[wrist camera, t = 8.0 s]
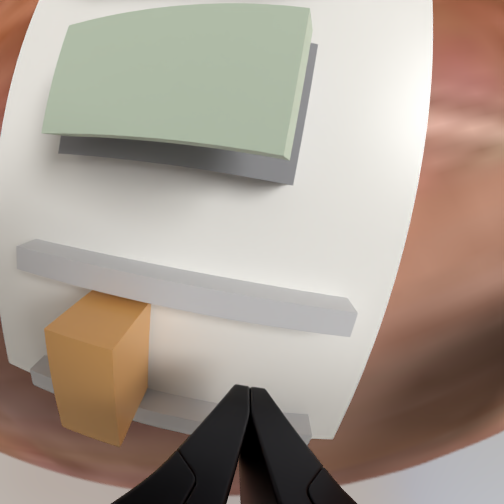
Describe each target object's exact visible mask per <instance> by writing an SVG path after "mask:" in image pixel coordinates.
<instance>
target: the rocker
mask: <svg viewBox="0 0 504 504" xmlns="http://www.w3.org/2000/svg"><path fill="white" fill-rule="evenodd" d="M312 32H313V29H312V20H311V12H310V8H305V7H296V6H285V5H271V4H248V3H217V4H194V5H180V6H169V7H160V8H152V9H145V10H138V11H132V12H126V13H120V14H115V15H110V16H105V17H101V18H96V19H92V20H88V21H84V22H80V23H76V24H72V25H69V27H68V30H67V33H66V36H65V39H64V42H63V45H62V48H61V51H60V54H59V58H58V61H57V65H56V68H55V72H54V76H53V80H52V84H51V88H50V92H49V96H48V101H47V105H46V110H45V115H44V121H43V126H42V132H41V133H43V134H52V135H61V136H77V137H100V138H117V139H131V140H144V141H155V142H165V143H175V144H184V145H192V146H200V147H208V148H215V149H222V150H229V151H236V152H242V153H249V154H255V155H261V156H267V157H272V158H278V159H283V160H289V161H290V156H291V151H292V146H293V140H294V135H295V129H296V124H297V118H298V113H299V107H300V102H301V96H302V90H303V85H304V79H305V73H306V67H307V62H308V56H309V50H310V44H311V38H312Z"/></svg>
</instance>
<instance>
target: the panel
mask: <svg viewBox="0 0 504 504" xmlns="http://www.w3.org/2000/svg"><path fill="white" fill-rule="evenodd" d="M217 3H248V4H271V5H285V6H296V7H305V8H310V12H311V20H312V29H313V32H312V38H311V44H310V50H309V56H308V62H307V67H306V73H305V79H304V85H303V90H302V96H301V102H300V107H299V113H298V118H297V124H296V129H295V135H294V140H293V146H292V151H291V156H290V161H289V160H283V159H278V158H272V157H267V156H261V155H255V154H249V153H242V152H236V151H229V150H222V149H215V148H208V147H200V146H192V145H184V144H175V143H165V142H155V141H144V140H131V139H117V138H100V137H77V136H61V135H52V134H43V133H41V132H42V126H43V121H44V115H45V110H46V105H47V101H48V96H49V92H50V88H51V84H52V80H53V76H54V72H55V68H56V65H57V61H58V58H59V54H60V51H61V48H62V45H63V42H64V39H65V36H66V33H67V30H68V27H69V25H72V24H76V23H80V22H84V21H88V20H92V19H96V18H101V17H105V16H110V15H115V14H120V13H126V12H132V11H138V10H145V9H152V8H160V7H169V6H180V5H194V4H217ZM432 55H433V6H432V0H39V2H38V4H37V7H36V9H35V12H34V14H33V17H32V19H31V22H30V25H29V27H28V30H27V33H26V36H25V38H24V41H23V44H22V48H21V51H20V54H19V57H18V60H17V64H16V67H15V71H14V75H13V78H12V82H11V86H10V90H9V95H8V99H7V104H6V109H5V114H4V119H3V125H2V131H1V137H0V317H1V323H2V329H3V335H4V340H5V345H6V350H7V355H8V360H9V363H10V364H12V365H15V366H17V367H19V368H21V369H23V370H25V371H28V372H30V373H31V377H32V382H33V385H35V386H37V387H40V388H42V389H44V390H47V391H49V392H51V393H54V389H53V384H52V379H51V374H50V368H49V362H48V355H47V349H46V341H45V333H44V328H45V327H47V326H48V325H49V324H50V323H52V322H53V321H54V320H55V319H56V318H58V317H59V316H60V315H61V314H63V313H64V312H65V311H66V310H68V309H69V308H70V307H71V306H73V305H74V304H75V303H76V302H78V301H79V300H80V299H81V298H83V297H84V296H85V295H87V294H88V293H89V292H90V291H92V290H95V291H98V292H102V293H107V294H111V295H115V296H119V297H123V298H127V299H132V300H136V301H140V302H145V303H149V304H151V313H150V331H149V355H148V388H147V390H146V392H145V394H144V397H143V399H142V401H141V403H140V405H139V407H138V409H137V412H136V414H135V416H134V418H133V420H132V421H136V422H139V423H143V424H147V425H151V426H155V427H159V428H163V429H167V430H171V431H176V432H180V433H185V434H190V435H191V434H192V433H193V432H194V430H195V429H196V428H197V427H198V426H199V425H200V424H201V423H202V421H203V420H204V419H205V418H206V417H207V416H208V415H209V413H210V412H211V411H212V410H213V409H214V408H215V407H216V405H217V404H218V403H219V402H220V401H221V400H222V398H223V397H224V396H225V395H226V394H227V393H228V391H229V390H230V389H231V388H232V387H233V386H234V385H235V384H239V385H245V386H249V388H250V387H259V388H265V389H266V390H267V392H268V393H269V394H270V396H271V397H272V399H273V400H274V401H275V403H276V404H277V406H278V407H279V408H280V410H281V411H282V412H283V414H284V415H285V417H286V418H287V419H288V421H289V422H290V423H291V425H292V426H293V427H294V429H295V430H296V431H297V433H298V434H299V435H300V437H301V438H302V439H303V441H304V442H305V443H306V445H307V446H308V444H309V441H310V439H333V438H334V436H335V434H336V432H337V430H338V428H339V426H340V423H341V421H342V419H343V417H344V415H345V413H346V411H347V408H348V406H349V404H350V402H351V399H352V397H353V395H354V392H355V390H356V388H357V385H358V383H359V381H360V378H361V376H362V373H363V371H364V368H365V366H366V363H367V361H368V358H369V355H370V353H371V350H372V347H373V345H374V342H375V339H376V337H377V334H378V331H379V328H380V325H381V322H382V319H383V316H384V313H385V310H386V307H387V304H388V301H389V298H390V295H391V291H392V288H393V285H394V281H395V278H396V275H397V271H398V268H399V264H400V260H401V257H402V253H403V249H404V245H405V241H406V237H407V233H408V229H409V224H410V220H411V216H412V211H413V206H414V202H415V197H416V192H417V187H418V181H419V176H420V170H421V164H422V158H423V151H424V144H425V137H426V130H427V121H428V112H429V102H430V90H431V76H432Z"/></svg>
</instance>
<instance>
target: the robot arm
mask: <svg viewBox="0 0 504 504" xmlns="http://www.w3.org/2000/svg"><path fill="white" fill-rule="evenodd" d="M238 460H239V476H240V500H241V504H357V503H356V502H355V501H354V500H353V499H352V498H351V497H350V496H349V495H348V494H347V493H346V492H345V491H344V490H343V489H342V488H341V487H340V486H339V484H338V483H337V482H336V481H335V480H334V479H333V478H332V476H331V475H330V474H329V473H328V471H327V470H326V469H325V468H323V465H322V464H321V463H320V461H319V460H318V459H317V458H316V456H315V455H314V454H313V452H312V451H311V450H310V449H309V447H308V446H307V445H306V443H305V442H304V441H303V439H302V438H301V437H300V435H299V434H298V433H297V431H296V430H295V429H294V427H293V426H292V425H291V423H290V422H289V421H288V419H287V418H286V417H285V415H284V414H283V412H282V411H281V410H280V408H279V407H278V406H277V404H276V403H275V401H274V400H273V399H272V397H271V396H270V394H269V393H268V392H267V390H266V389H265V388H259V387H250V388H249V386H245V385H239V384H235V385H234V386H233V387H232V388H231V389H230V390H229V391H228V393H227V394H226V395H225V396H224V397H223V398H222V400H221V401H220V402H219V403H218V404H217V405H216V407H215V408H214V409H213V410H212V411H211V412H210V413H209V415H208V416H207V417H206V418H205V419H204V420H203V421H202V423H201V424H200V425H199V426H198V427H197V428H196V429H195V430H194V432H193V433H192V434H191V435H190V436H189V437H188V438H187V439H186V440H185V441H184V443H183V444H182V445H181V446H180V447H179V448H178V449H177V451H175V452H174V453H173V454H172V455H171V456H170V457H169V459H168V460H167V461H166V462H164V463H163V464H162V465H161V466H160V467H159V468H158V469H157V470H156V471H155V472H154V473H153V474H151V475H150V476H149V477H148V478H146V479H145V480H144V481H143V482H141V483H140V484H138V485H137V486H136V487H134V488H133V489H131V490H130V491H129V492H127V493H126V494H125V495H123V496H121V497H120V498H119V499H117V500H116V501H114V502H113V503H111V504H226V503H227V499H228V496H229V492H230V489H231V485H232V482H233V478H234V474H235V471H236V467H237V463H238Z"/></svg>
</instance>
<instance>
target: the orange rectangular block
mask: <svg viewBox="0 0 504 504" xmlns="http://www.w3.org/2000/svg"><path fill="white" fill-rule="evenodd" d="M150 313H151V304H149V303H145V302H140V301H136V300H132V299H127V298H123V297H119V296H115V295H111V294H107V293H102V292H98V291H95V290H92V291H90V292H89V293H88V294H87V295H85V296H84V297H83V298H81V299H80V300H79V301H78V302H76V303H75V304H74V305H73V306H71V307H70V308H69V309H68V310H66V311H65V312H64V313H63V314H61V315H60V316H59V317H58V318H56V319H55V320H54V321H53V322H52V323H50V324H49V325H48V326H47V327H45V328H44V333H45V341H46V349H47V355H48V362H49V368H50V374H51V379H52V384H53V389H54V394H55V399H56V403H57V408H58V412H59V416H60V420H61V424H62V427H65V428H67V429H69V430H72V431H75V432H77V433H80V434H82V435H85V436H88V437H90V438H93V439H96V440H99V441H102V442H105V443H108V444H111V445H114V446H117V447H121V444H122V442H123V440H124V438H125V435H126V433H127V431H128V429H129V427H130V425H131V422H132V420H133V418H134V416H135V414H136V412H137V409H138V407H139V405H140V403H141V401H142V399H143V397H144V394H145V392H146V390H147V388H148V355H149V331H150Z"/></svg>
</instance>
